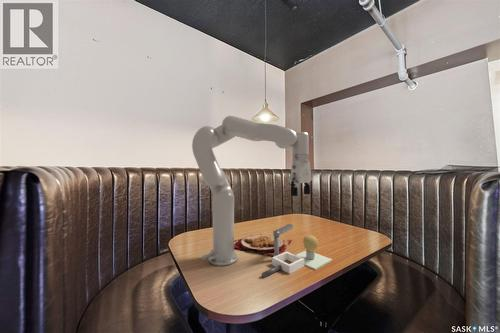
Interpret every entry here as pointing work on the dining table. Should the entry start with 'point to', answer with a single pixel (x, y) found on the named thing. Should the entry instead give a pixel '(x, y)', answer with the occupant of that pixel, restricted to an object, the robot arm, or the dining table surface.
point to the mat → (314, 260)
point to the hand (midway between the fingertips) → (300, 195)
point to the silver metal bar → (282, 230)
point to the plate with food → (260, 244)
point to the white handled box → (279, 259)
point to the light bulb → (310, 246)
